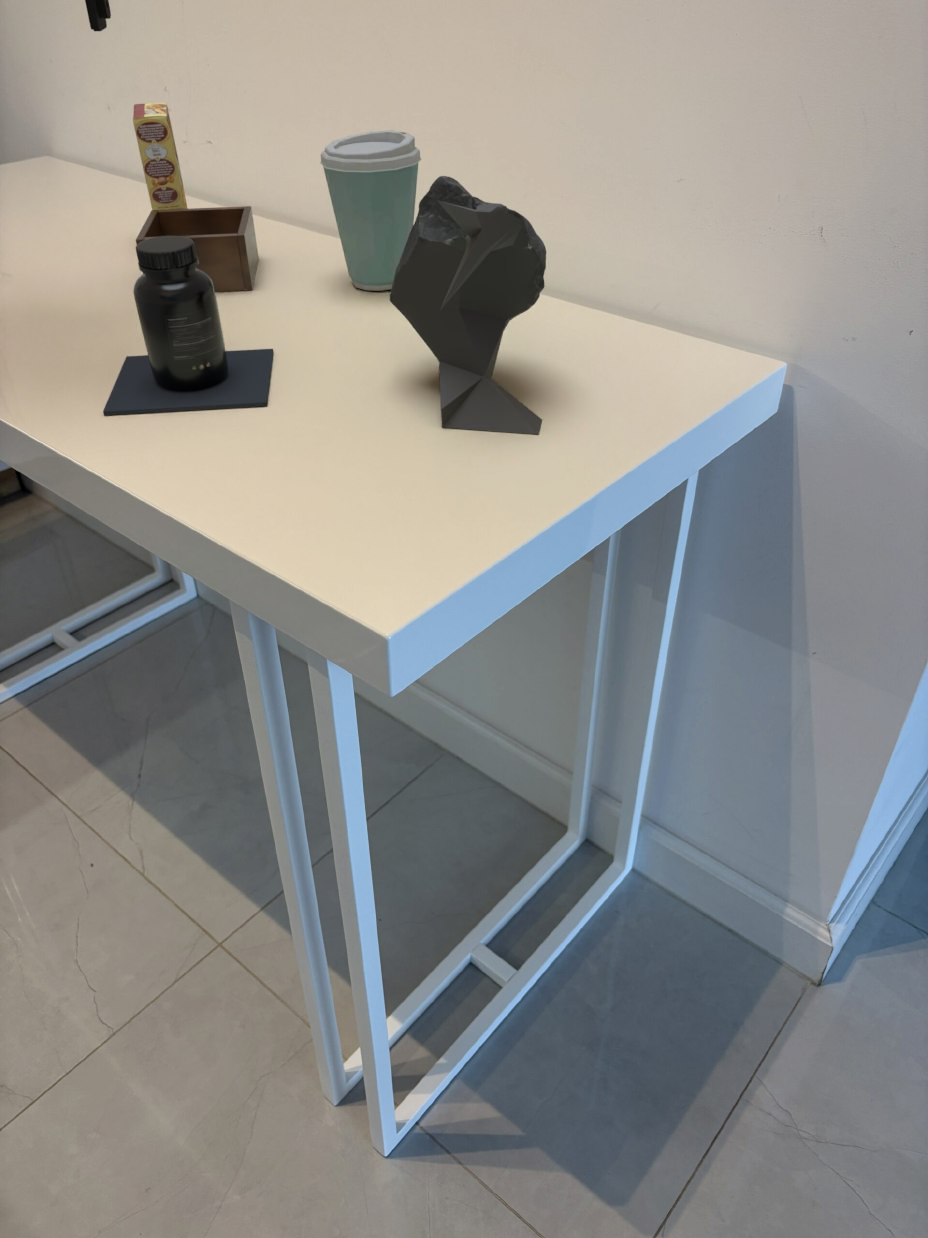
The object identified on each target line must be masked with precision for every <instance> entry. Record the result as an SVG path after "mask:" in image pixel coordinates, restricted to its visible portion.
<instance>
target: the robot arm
mask: <svg viewBox="0 0 928 1238" xmlns="http://www.w3.org/2000/svg"><path fill="white" fill-rule="evenodd" d="M109 1H110V0H84V3H85V7H86V11H87V17H88V22H89V27H90V30H92V31H93V32H102V31H104V30H105V29H106V28H107V27H108V25H107V23H108V22H107V20H109V19H111V17H112V14H111V12H112V11H111V6H110V2H109Z"/></svg>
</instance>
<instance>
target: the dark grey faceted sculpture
mask: <svg viewBox="0 0 928 1238" xmlns="http://www.w3.org/2000/svg"><path fill="white" fill-rule="evenodd" d="M546 268H547V248H546V245H545V243H544V241H543V240H542V238H541V237H540V236H539V235H538V234H537V232H536V230H535V228H534V227H533V225H532V223H531V222H530V220H528V218H527V217H525V216H524V215H522V214H521V213H519V212H518V211H516V210H514V209H510V208H509V207H507V205H505V204H502V203H497V202H496V203H494V202H487V201H485V200H484V201H483V200H482V199H480V198H479V197H476V196H473V195H472V194H471V193H470V192H469V191H468V190H467V189H466V188H465V187H464V186H463V185H462V184H461V183H460V182H459V181H458V180H456V179H455V178H453V177H451V176H447V175H440V176H438V177H437V178H436V179H435V180H434V181H433V183H432V184H431V185H430V187H429V189H428V191H427V192H426V193H425V195H424V196H423V197H422V198H421V199H420V201H419V203H418V212H417V216H416V217H415V220H414V223H413V227H412V229H411V231H410V234H409V237H408V240H407V242H406V245H405V248H404V251H403V253H402V256H401V258H400V262H399V264H398V266H397V268H396V271H395V276H394V280H393V284H392V288H391V289H390V294H389V302H390V303H391V304H392V305H393V307H395V309H397V310H398V311H399V313H400V314H401V315H402V316H403V317H404V318H405V320H406V321H408V323H409V324H410V326H411V327H412V328H413V329H414V331H415V332H416V333H417V334H418V336H419V337H420V338H421V340H422V341H423V342H424V343H425V345H426V346H427V347H428V349H429V350H430V351H431V353H432V354H433V355H434V357H435V358H436V360H437V361H438V379H439V397H440V399H439V400H440V401H439V402H440V416H441V417H440V418H441V419H440V420H441V428H442V429H443V428H444V429H457V430H470V431H471V430H473V431H485V432H500V433H511V434H513V433H514V434H528V435H540V431H541V427H542V424H543V423H542V422H543V419H542V418H541V417H540V416H538V414H536V413H535V412H534V411H532V410H531V409H530V408H528V406H526V405H525V404H524V403H523V402H521V401H520V400H519V399H518V398H516V397H515V396H514V395H513V394H511V393H510V392H509V391H508V390H507V389H505V388H504V387H503V386H502V385H500V384H499V383H498V382H496V381H495V380H494V379H493V375H494V370H495V367H496V363H497V359H498V354H499V351H500V347H501V343H502V338H503V334H504V332H505V330H506V329H507V326H508V324H509V323H510V321H511V320H513V319H515V318H516V317H518V316H519V315H522V314H524V313H525V312H528V311H529V310H530V309H531V308H532V307H533V306H534V305H535V304H536V303H537V302H538V300H539V299H540V296H541V293H542V291H543V290H544V289H545V279H544V276H545V272H546Z"/></svg>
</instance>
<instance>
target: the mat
mask: <svg viewBox="0 0 928 1238" xmlns="http://www.w3.org/2000/svg"><path fill="white" fill-rule="evenodd" d="M226 356H227V362H228V373H227V375H226V377H225V378H224V379H223V380H222V381H221V382H219V383H218V384H216V385H214V386H212V387H209V388H206V389H202V390H197V391H185V392H183V391H172V390H168V389H165V388H163V387H161V386H160V385H159V384H157V383H156V381H155V380H154V377H153V374H152V370H151V366H150V362H149V358H148V354H147V355H145V354H144V355H127V356H126V357H125V358H124V361H123V363H122V366H121V368H120V371H119V373H118V375H117V377H116V380H115V382H114V385H113V387H112V389H111V391H110V394H109V397H108V399H107V401H106V403H105V405H104V408H103V411H102V414H103V416H117V415H118V416H119V415H134V414H150V413H151V414H153V413H155V414H156V413H170V412H188V411H204V410H205V411H206V410H219V409H222V410H223V409H238V408H239V409H240V408H241V409H242V408H258V407H267V406H268V402H269V401H268V400H269V393H270V386H271V376H272V368H273V360H274V348H260V349H242V350H241V349H240V350H226Z"/></svg>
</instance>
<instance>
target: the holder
mask: <svg viewBox="0 0 928 1238" xmlns="http://www.w3.org/2000/svg"><path fill="white" fill-rule="evenodd" d="M255 229H256V228H255V222H254V215H253V208H252V206H251V205H247V206H246V205H245V206H222V207H221V206H219V207H197V208H196V207H195V208H187V209H168V210H152V209H151V211H150V212H149V214H148V216H147V218H146V219H145V222H144V224H143V225H142V227H141V229H140V231H139V232H138V235H137V237H136V238H135V244H136V245H138V243H140V242H141V241H144V240H147V239H149V238H153V237H159V236H184V237H188V238H190V239H191V240H193V242H194V245H195V250H196V255H197V256H198V261H199V264H198V266H197V267H196V268H198V269H200V270H202V271H203V272H205V273H206V274H207V275H208V276H209V277H210V278H211V280H212V282H213V285H214V289H215V293H217V292H237V291H240V292H241V291H252V290H254V285H255V279H256V278H255V277H256V273H257V269H258V268H257V267H258V263H259V258H260V257H259V251H258V243H257V237H256V236H257V235H256V230H255ZM143 274H144V273H143V272H142V275H143Z"/></svg>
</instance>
